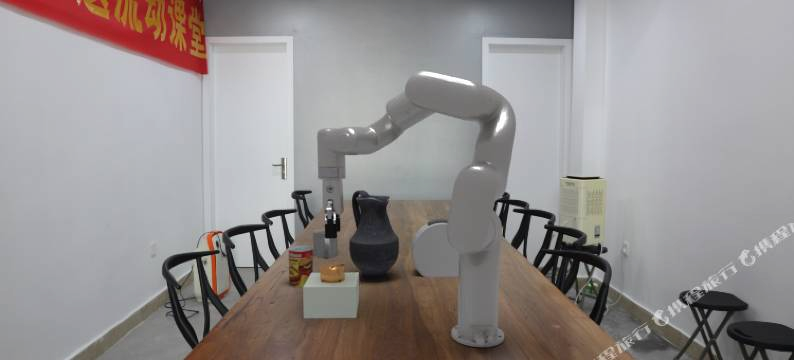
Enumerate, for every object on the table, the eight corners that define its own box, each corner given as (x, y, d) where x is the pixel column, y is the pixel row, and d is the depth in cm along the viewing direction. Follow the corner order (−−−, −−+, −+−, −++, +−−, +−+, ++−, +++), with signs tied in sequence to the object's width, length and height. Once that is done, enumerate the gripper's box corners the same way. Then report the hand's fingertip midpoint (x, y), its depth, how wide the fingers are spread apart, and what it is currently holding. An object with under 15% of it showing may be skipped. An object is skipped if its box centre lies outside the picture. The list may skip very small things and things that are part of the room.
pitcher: (368, 288, 150) (368, 195, 148) (334, 274, 166) (333, 190, 164) (409, 278, 161) (409, 192, 159) (373, 266, 177) (373, 187, 175)
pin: (344, 311, 128) (343, 268, 127) (319, 311, 128) (318, 268, 127) (345, 303, 135) (345, 262, 134) (322, 303, 135) (321, 262, 134)
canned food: (285, 283, 156) (284, 247, 155) (306, 279, 161) (305, 244, 160) (296, 289, 150) (295, 252, 149) (317, 284, 155) (317, 248, 154)
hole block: (356, 317, 125) (356, 286, 124) (303, 318, 125) (303, 287, 124) (358, 300, 139) (358, 272, 138) (311, 300, 138) (311, 272, 138)
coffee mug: (315, 252, 201) (314, 229, 200) (338, 251, 201) (338, 229, 200) (310, 259, 187) (310, 235, 187) (335, 259, 188) (335, 235, 187)
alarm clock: (468, 270, 172) (469, 217, 170) (472, 276, 164) (473, 220, 163) (410, 271, 171) (411, 217, 169) (412, 277, 164) (412, 221, 162)
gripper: (342, 175, 120) (344, 240, 121) (347, 171, 137) (348, 229, 139) (313, 175, 120) (315, 241, 121) (322, 171, 137) (323, 229, 138)
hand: (333, 234), depth 130 cm, fingers open, 9 cm apart
